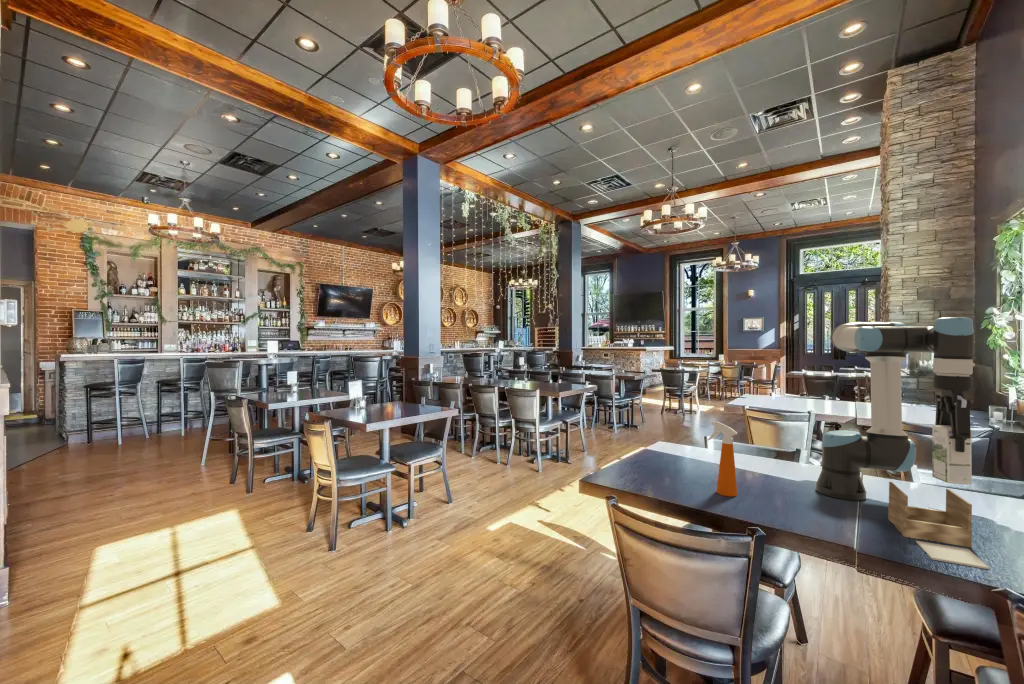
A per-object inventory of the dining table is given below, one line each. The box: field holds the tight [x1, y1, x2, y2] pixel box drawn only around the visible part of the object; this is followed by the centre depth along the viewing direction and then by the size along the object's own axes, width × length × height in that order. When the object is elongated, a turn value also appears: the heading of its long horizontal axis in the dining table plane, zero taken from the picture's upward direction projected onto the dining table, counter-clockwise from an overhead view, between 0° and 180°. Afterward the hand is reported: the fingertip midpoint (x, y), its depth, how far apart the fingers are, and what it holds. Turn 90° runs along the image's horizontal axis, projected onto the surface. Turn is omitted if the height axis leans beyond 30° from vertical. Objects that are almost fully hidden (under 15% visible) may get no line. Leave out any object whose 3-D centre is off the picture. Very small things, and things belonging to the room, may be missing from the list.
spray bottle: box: [706, 420, 738, 498], centre depth 166 cm, size 7×11×26 cm, turn 51°
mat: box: [915, 540, 990, 570], centre depth 119 cm, size 11×11×1 cm
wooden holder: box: [887, 481, 973, 548], centre depth 133 cm, size 15×15×12 cm
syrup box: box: [931, 424, 973, 485], centre depth 119 cm, size 6×6×14 cm
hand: (951, 460), depth 119 cm, fingers closed on syrup box, 7 cm apart
